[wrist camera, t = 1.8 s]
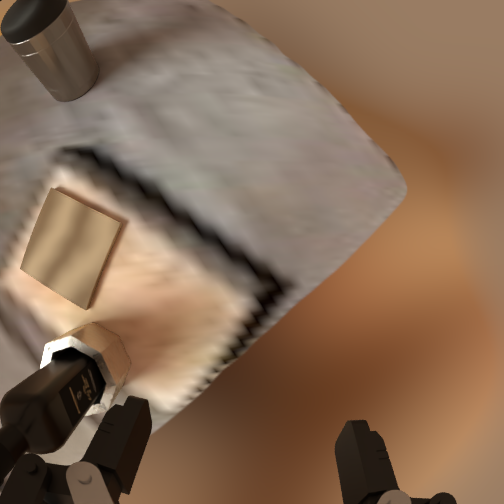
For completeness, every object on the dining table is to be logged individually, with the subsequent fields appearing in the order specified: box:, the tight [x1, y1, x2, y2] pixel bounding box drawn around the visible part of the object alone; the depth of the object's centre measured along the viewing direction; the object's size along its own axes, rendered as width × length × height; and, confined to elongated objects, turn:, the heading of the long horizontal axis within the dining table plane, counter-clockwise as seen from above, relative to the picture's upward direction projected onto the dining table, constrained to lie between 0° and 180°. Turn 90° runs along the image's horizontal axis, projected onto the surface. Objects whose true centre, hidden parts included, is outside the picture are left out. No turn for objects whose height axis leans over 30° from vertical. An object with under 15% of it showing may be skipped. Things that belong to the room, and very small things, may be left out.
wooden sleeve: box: [40, 322, 131, 416], centre depth 32 cm, size 10×10×8 cm
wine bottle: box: [0, 347, 106, 486], centre depth 22 cm, size 6×6×30 cm
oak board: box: [20, 188, 122, 310], centre depth 36 cm, size 13×13×1 cm
